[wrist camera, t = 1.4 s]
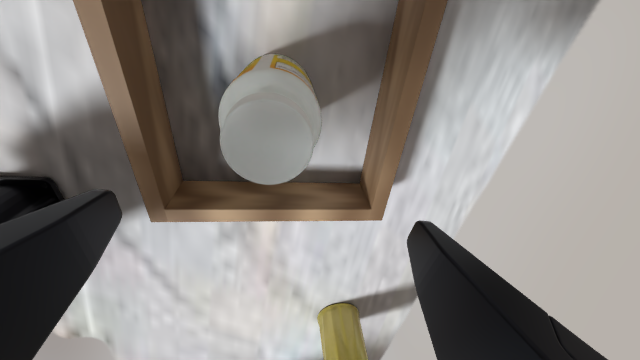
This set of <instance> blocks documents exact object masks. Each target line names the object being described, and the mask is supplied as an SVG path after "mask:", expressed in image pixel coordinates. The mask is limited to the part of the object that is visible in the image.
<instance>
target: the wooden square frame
mask: <svg viewBox="0 0 640 360" xmlns="http://www.w3.org/2000/svg"><path fill="white" fill-rule="evenodd" d="M447 1H448V0H399V1H398V6H397V10H396V15H395V20H394V24H393V29H392V34H391V38H390V43H389V48H388V52H387V57H386V62H385V66H384V71H383V76H382V80H381V85H380V90H379V94H378V99H377V104H376V108H375V113H374V118H373V122H372V127H371V132H370V136H369V141H368V146H367V150H366V155H365V160H364V164H363V169H362V174H361V178H360V183H299V182H284V183H280V184H274V185H265V184H258V183H254V182H237V181H183V178H182V174H181V170H180V165H179V161H178V157H177V152H176V148H175V144H174V140H173V135H172V131H171V127H170V123H169V118H168V114H167V110H166V105H165V101H164V97H163V93H162V88H161V84H160V80H159V75H158V71H157V67H156V63H155V58H154V54H153V50H152V45H151V41H150V37H149V33H148V28H147V24H146V20H145V16H144V11H143V7H142V3H141V0H73V2H74V5H75V8H76V10H77V13H78V16H79V19H80V22H81V25H82V27H83V30H84V33H85V36H86V39H87V42H88V44H89V47H90V50H91V53H92V56H93V59H94V62H95V64H96V67H97V70H98V73H99V76H100V79H101V81H102V84H103V87H104V90H105V93H106V96H107V98H108V101H109V104H110V107H111V110H112V113H113V116H114V118H115V121H116V124H117V127H118V130H119V133H120V135H121V138H122V141H123V144H124V147H125V150H126V152H127V155H128V158H129V161H130V164H131V167H132V170H133V172H134V175H135V178H136V181H137V184H138V187H139V189H140V192H141V195H142V198H143V201H144V204H145V206H146V209H147V212H148V215H149V218H150V221H151V222H231V221H365V220H382V218H383V215H384V211H385V208H386V205H387V201H388V198H389V195H390V191H391V188H392V185H393V181H394V178H395V175H396V171H397V168H398V165H399V161H400V158H401V155H402V151H403V148H404V145H405V141H406V138H407V135H408V131H409V128H410V125H411V121H412V118H413V115H414V111H415V108H416V105H417V101H418V98H419V95H420V91H421V88H422V85H423V81H424V78H425V75H426V71H427V68H428V64H429V61H430V58H431V54H432V51H433V48H434V44H435V41H436V38H437V34H438V31H439V28H440V24H441V21H442V18H443V14H444V11H445V8H446V4H447Z"/></svg>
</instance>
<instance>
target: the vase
mask: <svg viewBox="0 0 640 360" xmlns="http://www.w3.org/2000/svg"><path fill="white" fill-rule="evenodd" d="M317 319H318V324H319V326H320V334H321V343H322V350H323V356H324V360H368V356H367V352H366V348H365V343H364V338H363V333H362V329H361V324H360V319H359V312H358V309H357V308H356V307H355V306H353V305H351V304H347V303H338V304H333V305H330V306H328V307H326V308H324V309H323V310H322V311H321V312H320V313H319V314H318V317H317Z"/></svg>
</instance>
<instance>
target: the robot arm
mask: <svg viewBox="0 0 640 360" xmlns="http://www.w3.org/2000/svg"><path fill="white" fill-rule="evenodd" d="M121 218H122V212H121V209H120V206H119V204H118V201H117V198H116V196H115V194H114V193H113V192H112V191H109V190H100V189H94V190H91V191H88V192H85V193H83V194H80V195H77V196H75V197H72V198H69V199H67V200H64V199H63V197H62V195H61V193H60V191H59V190H58V188H57V186H56V184H55V182H54V181H53V180H51V179H50V178H47V177H4V176H0V360H32V359H33V358H34V357H35V355H36V354H37V352H38V351H39V349H40V348H41V346H42V345H43V343H44V342H45V341H46V339H47V338H48V336H49V335H50V333H51V332H52V330H53V329H54V327H55V326H56V325H57V323H58V322H59V320H60V319H61V317H62V316H63V314H64V313H65V311H66V310H67V309H68V307H69V306H70V304H71V303H72V301H73V300H74V298H75V297H76V295H77V294H78V293H79V291H80V290H81V288H82V287H83V285H84V284H85V282H86V281H87V279H88V278H89V276H90V275H91V273H92V272H93V270H94V269H95V267H96V265H97V264H98V262H99V260H100V258H101V256H102V255H103V253H104V251H105V249H106V247H107V245H108V243H109V242H110V240H111V238H112V236H113V234H114V232H115V231H116V229H117V227H118V225H119V223H120V221H121ZM407 247H408V252H409V257H410V262H411V267H412V273H413V278H414V283H415V287H416V291H417V295H418V298H419V301H420V304H421V308H422V311H423V314H424V318H425V321H426V324H427V327H428V331H429V334H430V337H431V341H432V344H433V347H434V350H435V354H436V357H437V360H608V359H606V358H605V357H604V356H602V355H601V354H600V353H598V352H597V351H595V350H594V349H593V348H591V347H590V346H589V345H587V344H586V343H585V342H584V341H582V340H581V339H580V338H578V337H577V336H576V335H574V334H573V333H572V332H571V331H569V330H568V329H567V328H565V327H564V326H563V325H562V324H560V323H559V322H558V321H557V320H555V319H554V318H553V317H551V316H548V314H547V313H546V312H545V311H544V310H542V309H541V308H540V307H538V306H537V305H536V304H535V303H534V302H532V301H531V300H530V299H528V298H527V297H526V296H525V295H523V294H522V293H521V292H520V291H518V290H517V289H516V288H514V287H513V286H512V285H510V284H509V283H508V282H507V281H506V280H504V279H503V278H502V277H500V276H499V275H498V274H497V273H495V272H494V271H493V270H492V269H490V268H489V267H488V266H486V265H485V264H484V263H483V262H481V261H480V260H479V259H477V258H476V257H475V256H474V255H472V254H471V253H470V252H469V251H467V250H466V249H465V248H463V247H462V246H461V245H459V244H458V243H457V242H456V241H455V240H453V239H452V238H451V237H449V236H448V235H447V234H446V233H444V232H443V231H442V230H441V229H439V228H438V227H437V226H435V225H434V224H433V223H431V222H429V221H417V222H416V223H415V225H414V227H413V228H412V230H411V232H410V234H409V236H408V239H407Z"/></svg>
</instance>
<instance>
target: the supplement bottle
mask: <svg viewBox="0 0 640 360" xmlns="http://www.w3.org/2000/svg"><path fill="white" fill-rule="evenodd" d="M218 119H219V127H220V130H221V131H220V147H221V151H222V154H223V156H224V158H225V160H226V162H227V163H228V165H229V166H230V167H231V168H232V169H233V170H234V171H235V172H236V173H237V174H238V175H240V176H241V177H243V178H245V179H247V180H249V181H251V182H254V183H258V184H265V185H274V184H280V183H284V182H287V181H289V180H291V179H293V178H295V177H296V176H298V175H299V174H300V173H301V172H302V171H303V170H304V169H305V168H306V166H307V165H308V163H309V161H310V159H311V156H312V153H313V148H314V147H315V145H316V143H317V141H318V139H319V136H320V132H321V126H322V117H321V110H320V107H319V103H318V100H317V98H316V95H315V92H314V90H313V87H312V84H311V82H310V79H309V77H308V75H307V73H306V72H305V70H304V69H303V68H302V67H301V66H300V65H299V64H298V63H297V62H296V61H294V60H293V59H291V58H289V57H287V56H284V55H279V54H268V55H263V56H261V57H258V58H257V59H255V60H253V61H252V62H251V63H250V64H249V65H248V66H247V67H246V68H245V69H244V70H243V71H242V72H241V73H240V74H239V76H238V77H237V78H236V79H234V80H233V81H232V83H231V84H230V85H229V87H228V88H227V90H226V91H225V93H224V95H223V97H222V99H221V102H220V106H219V113H218Z"/></svg>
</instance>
